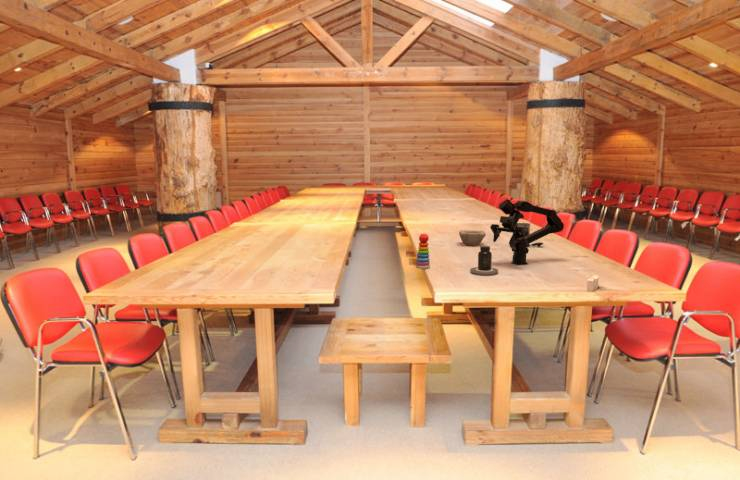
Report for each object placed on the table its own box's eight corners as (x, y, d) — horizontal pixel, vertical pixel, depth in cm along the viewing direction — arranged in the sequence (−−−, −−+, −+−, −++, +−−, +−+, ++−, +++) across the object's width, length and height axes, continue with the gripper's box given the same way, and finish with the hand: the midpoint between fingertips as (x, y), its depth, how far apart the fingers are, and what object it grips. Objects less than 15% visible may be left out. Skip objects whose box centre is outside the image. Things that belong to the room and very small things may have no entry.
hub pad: (490, 269, 289) (490, 265, 288) (503, 274, 275) (503, 271, 275) (465, 270, 285) (465, 267, 285) (477, 276, 272) (477, 273, 271)
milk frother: (512, 245, 359) (512, 222, 356) (533, 244, 363) (534, 221, 361) (524, 249, 345) (525, 225, 343) (545, 247, 350) (546, 224, 347)
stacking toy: (418, 270, 288) (418, 234, 285) (413, 266, 295) (413, 232, 292) (432, 269, 290) (432, 234, 287) (426, 266, 297) (427, 232, 294)
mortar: (484, 243, 368) (484, 229, 367) (485, 247, 352) (485, 233, 350) (458, 242, 371) (458, 229, 369) (459, 247, 354) (459, 233, 353)
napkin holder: (594, 285, 255) (594, 273, 254) (613, 290, 245) (614, 278, 244) (569, 288, 249) (569, 276, 248) (587, 294, 239) (588, 281, 238)
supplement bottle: (493, 268, 281) (493, 245, 279) (488, 271, 275) (489, 248, 273) (480, 267, 284) (481, 244, 282) (475, 269, 279) (476, 246, 277)
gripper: (492, 209, 297) (480, 231, 291) (523, 211, 284) (512, 235, 278) (499, 222, 304) (488, 244, 298) (530, 225, 291) (519, 248, 285)
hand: (501, 242), depth 289 cm, fingers open, 9 cm apart
